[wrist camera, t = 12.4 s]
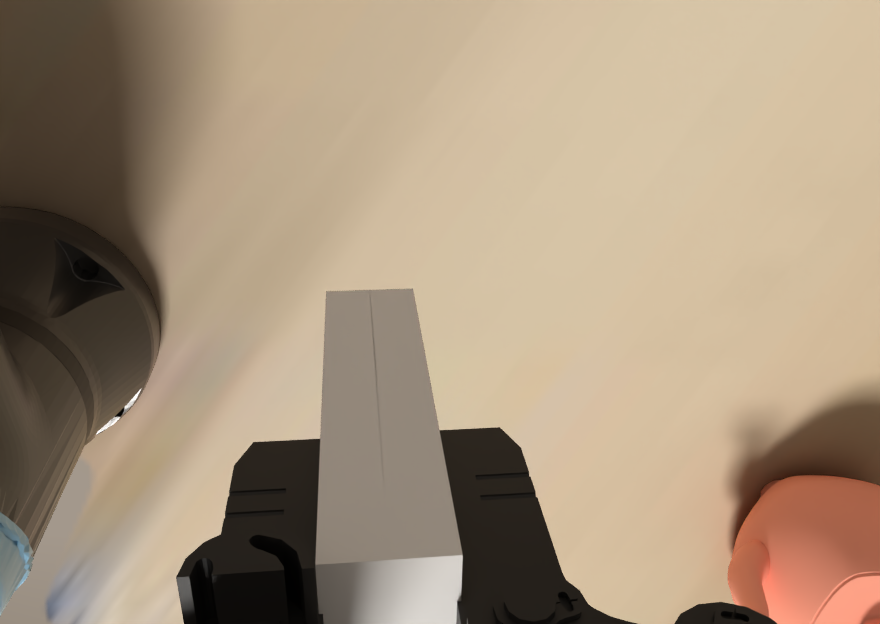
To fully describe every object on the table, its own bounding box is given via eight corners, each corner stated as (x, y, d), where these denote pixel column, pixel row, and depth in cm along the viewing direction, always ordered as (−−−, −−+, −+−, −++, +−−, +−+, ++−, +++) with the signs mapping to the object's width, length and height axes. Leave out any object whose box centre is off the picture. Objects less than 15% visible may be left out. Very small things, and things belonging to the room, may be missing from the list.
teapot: (696, 443, 60) (774, 561, 49) (934, 466, 64) (1055, 580, 53) (644, 579, 66) (704, 712, 55) (865, 594, 69) (962, 721, 58)
